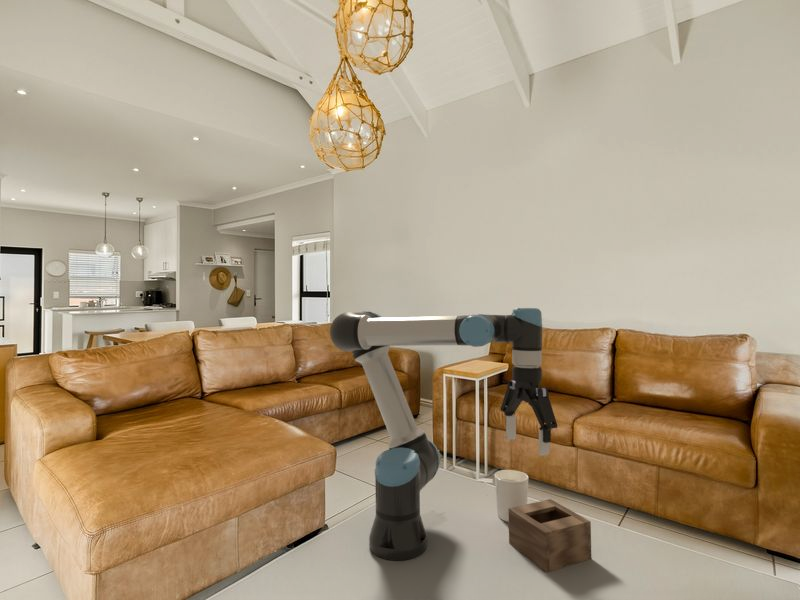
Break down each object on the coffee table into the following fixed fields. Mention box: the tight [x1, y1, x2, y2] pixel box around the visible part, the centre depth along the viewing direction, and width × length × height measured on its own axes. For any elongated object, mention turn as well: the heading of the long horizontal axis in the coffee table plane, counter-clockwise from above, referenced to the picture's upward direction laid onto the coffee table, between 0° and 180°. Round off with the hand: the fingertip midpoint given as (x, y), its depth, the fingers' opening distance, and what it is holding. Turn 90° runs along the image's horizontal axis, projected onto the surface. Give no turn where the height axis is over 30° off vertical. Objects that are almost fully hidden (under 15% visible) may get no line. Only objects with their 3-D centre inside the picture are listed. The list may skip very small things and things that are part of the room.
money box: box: [508, 498, 593, 573], centre depth 110 cm, size 14×14×9 cm
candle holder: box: [493, 469, 529, 523], centre depth 129 cm, size 10×10×12 cm
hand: (526, 446), depth 114 cm, fingers open, 13 cm apart
